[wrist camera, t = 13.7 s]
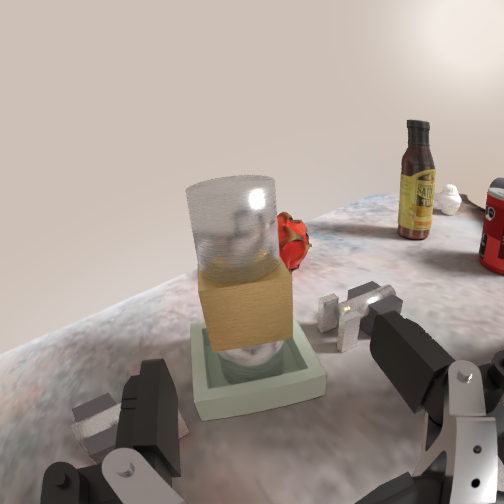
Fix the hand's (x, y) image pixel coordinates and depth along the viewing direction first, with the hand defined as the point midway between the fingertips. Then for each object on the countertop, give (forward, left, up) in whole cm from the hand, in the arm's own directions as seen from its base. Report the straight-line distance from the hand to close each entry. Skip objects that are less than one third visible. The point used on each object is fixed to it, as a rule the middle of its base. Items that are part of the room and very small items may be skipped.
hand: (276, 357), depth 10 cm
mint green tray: (0, -9, -10) cm, 14 cm away
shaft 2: (-11, -11, -10) cm, 19 cm away
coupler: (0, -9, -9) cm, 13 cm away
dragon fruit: (-7, -26, -10) cm, 29 cm away
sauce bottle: (-33, -29, -10) cm, 45 cm away
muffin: (-52, -37, -10) cm, 65 cm away
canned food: (-39, -13, -10) cm, 42 cm away
